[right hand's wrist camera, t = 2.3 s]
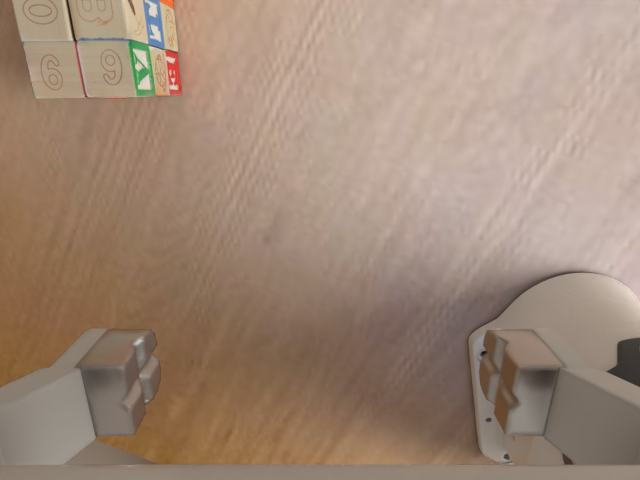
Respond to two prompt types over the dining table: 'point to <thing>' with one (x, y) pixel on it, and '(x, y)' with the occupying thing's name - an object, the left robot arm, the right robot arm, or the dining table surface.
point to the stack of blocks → (99, 47)
